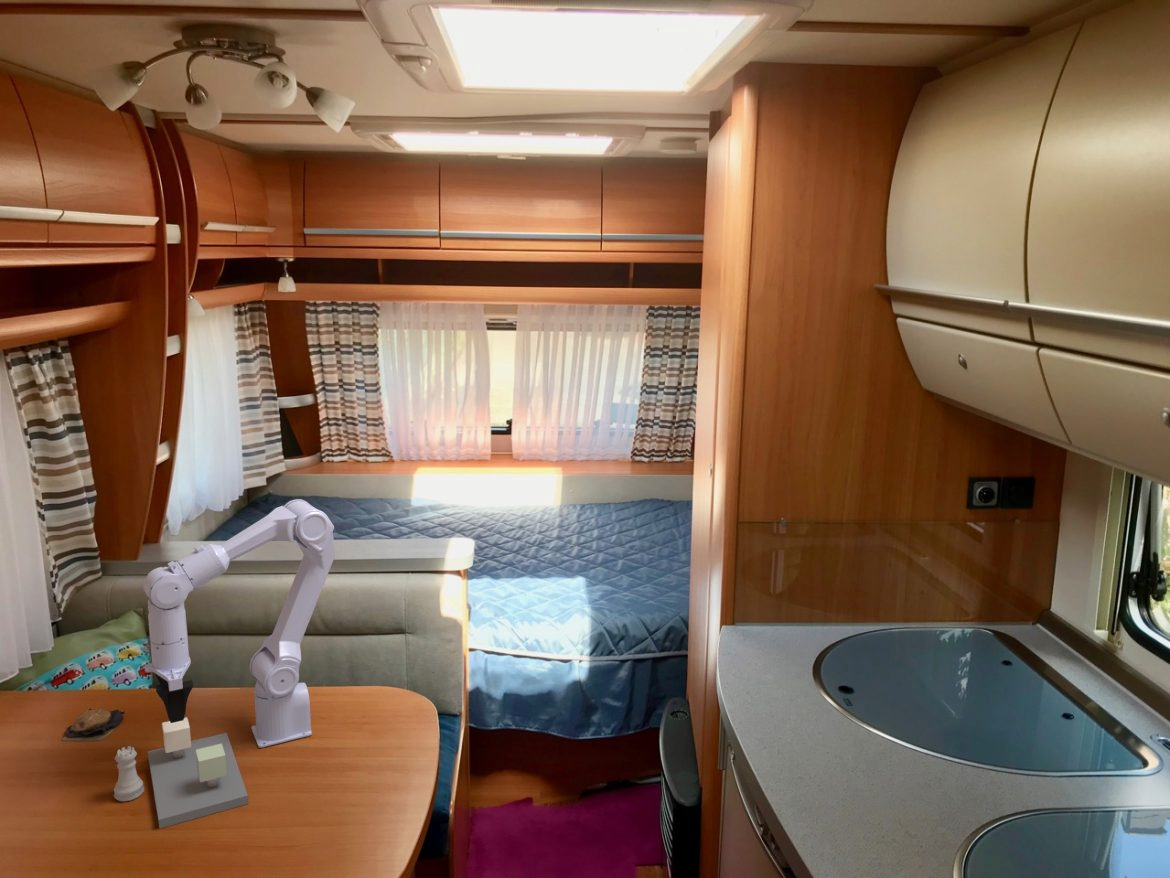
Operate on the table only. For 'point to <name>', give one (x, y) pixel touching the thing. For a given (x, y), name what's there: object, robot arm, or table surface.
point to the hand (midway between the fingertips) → (174, 711)
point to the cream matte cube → (176, 735)
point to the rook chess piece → (127, 776)
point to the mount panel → (193, 783)
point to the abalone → (93, 725)
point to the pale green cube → (211, 762)
